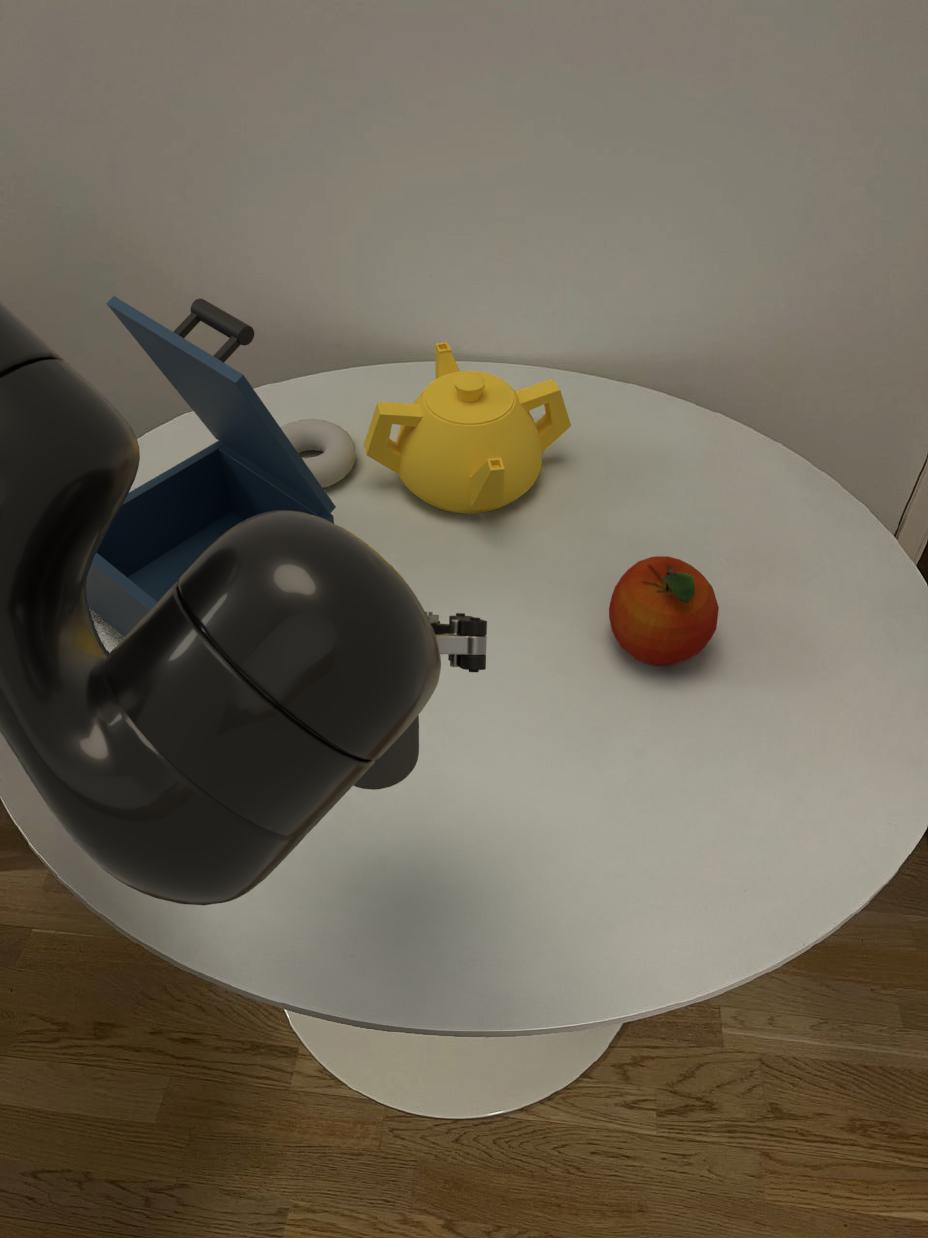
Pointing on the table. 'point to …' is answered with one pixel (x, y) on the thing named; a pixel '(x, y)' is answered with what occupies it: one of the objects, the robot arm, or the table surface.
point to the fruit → (663, 611)
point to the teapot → (468, 437)
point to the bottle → (394, 761)
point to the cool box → (178, 529)
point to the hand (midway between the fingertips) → (368, 630)
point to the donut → (323, 448)
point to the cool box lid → (222, 392)
